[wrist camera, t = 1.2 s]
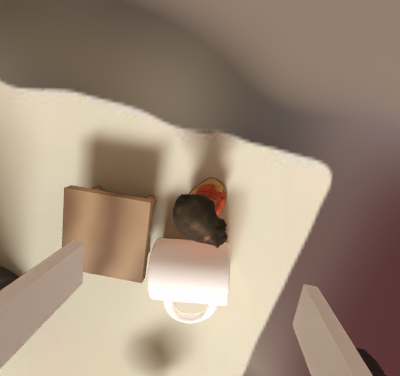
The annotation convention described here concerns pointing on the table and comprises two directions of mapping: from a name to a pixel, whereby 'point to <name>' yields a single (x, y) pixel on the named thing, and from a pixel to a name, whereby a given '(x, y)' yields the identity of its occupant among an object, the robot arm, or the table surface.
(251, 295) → the table surface
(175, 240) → the mug
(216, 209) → the figurine
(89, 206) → the tan legged square part
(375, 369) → the robot arm
